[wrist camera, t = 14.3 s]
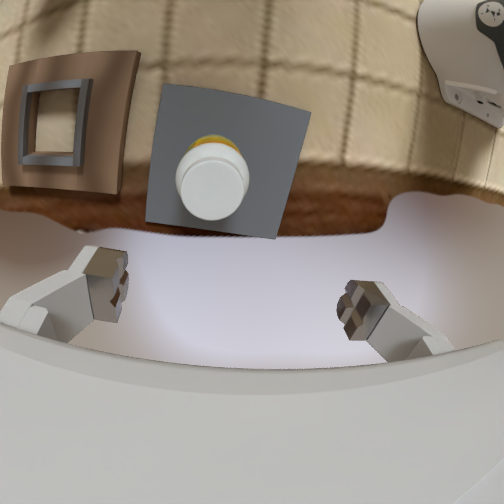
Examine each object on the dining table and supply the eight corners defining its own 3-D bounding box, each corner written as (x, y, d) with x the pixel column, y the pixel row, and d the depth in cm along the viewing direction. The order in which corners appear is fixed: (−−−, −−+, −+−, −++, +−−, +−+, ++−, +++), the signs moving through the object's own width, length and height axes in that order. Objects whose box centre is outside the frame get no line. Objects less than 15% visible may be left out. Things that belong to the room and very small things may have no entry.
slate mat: (309, 112, 24) (311, 112, 23) (274, 237, 30) (275, 239, 30) (164, 83, 21) (163, 83, 20) (146, 219, 27) (145, 221, 27)
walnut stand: (141, 53, 19) (133, 48, 16) (121, 189, 25) (113, 197, 23) (17, 65, 15) (4, 65, 13) (9, 181, 22) (-3, 188, 20)
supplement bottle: (234, 192, 27) (244, 237, 18) (180, 183, 25) (164, 225, 17) (247, 139, 24) (265, 159, 16) (190, 128, 23) (176, 142, 15)
